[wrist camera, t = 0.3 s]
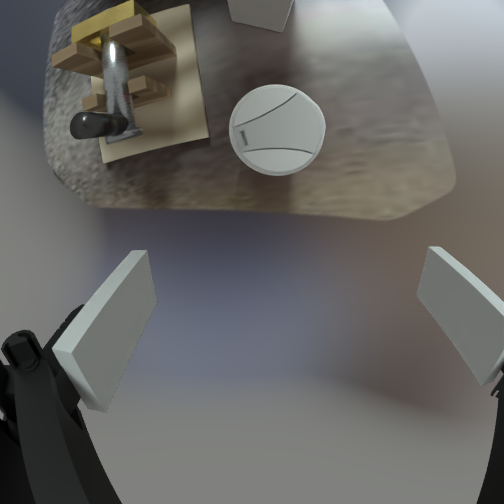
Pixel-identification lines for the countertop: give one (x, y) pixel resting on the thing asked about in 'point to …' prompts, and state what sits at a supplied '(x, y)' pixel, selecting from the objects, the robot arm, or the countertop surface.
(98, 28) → the spacer
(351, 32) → the countertop surface
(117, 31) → the wooden stand with blocks
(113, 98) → the silver bent bar
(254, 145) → the coffee cup
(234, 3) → the milk carton
